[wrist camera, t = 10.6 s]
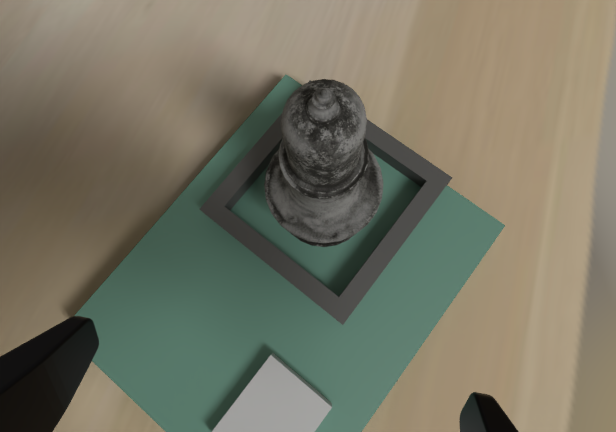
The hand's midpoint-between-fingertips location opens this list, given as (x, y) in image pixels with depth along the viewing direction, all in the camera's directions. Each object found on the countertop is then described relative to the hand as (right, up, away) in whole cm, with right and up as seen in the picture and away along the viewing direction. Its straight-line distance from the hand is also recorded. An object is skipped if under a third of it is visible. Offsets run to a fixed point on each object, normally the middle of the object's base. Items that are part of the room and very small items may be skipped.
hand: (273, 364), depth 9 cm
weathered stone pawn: (+2, +4, +13) cm, 14 cm away
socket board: (0, 0, +14) cm, 14 cm away
